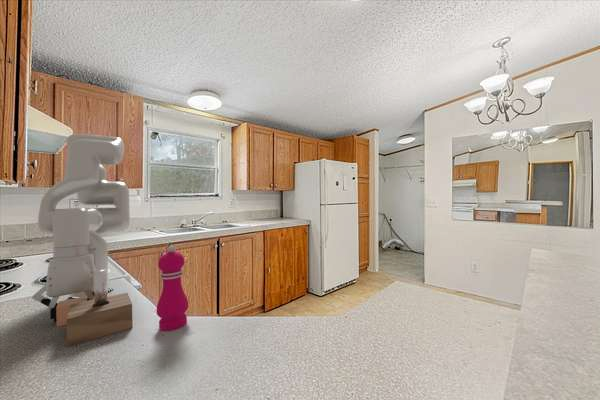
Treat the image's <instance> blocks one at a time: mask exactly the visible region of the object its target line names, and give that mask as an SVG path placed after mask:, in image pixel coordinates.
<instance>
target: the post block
mask: <svg viewBox="0 0 600 400" xmlns="http://www.w3.org/2000/svg"><path fill="white" fill-rule="evenodd" d="M107 302H108V304H107V305H102V306H98V307H94V299H93V300H89V301H85V302H80V303H75V304H71V305H70V309H69V313H68V316H67V324H66V347H70V346H75V345H77V344H81V343H84V342H88V341H91V340H96V339H99V338H102V337H105V336H110V335H112V334H116V333H120V332H123V331H126V330H130V329H133V325H134V324H133V302H132V300H131V298H130V296H129V293H128V292H124V293H123V292H122V293H119V294H115V295H110V296H109V295H107Z"/></svg>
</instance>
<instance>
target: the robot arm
mask: <svg viewBox="0 0 600 400" xmlns="http://www.w3.org/2000/svg"><path fill="white" fill-rule="evenodd" d="M66 146H67V154H66V155H67V156H66V165H65V172H64V178H62V179H61V180H59V181H58V182H57V183H55V184H53V185H52V186H51V187H50V188H49V189H48V190H47V191H46V192H45V193H44V195H43V196H42V198H41V200H40V204H39V205H40V206H39V211H38V216H37V225H38V228H39V230H40V231H41V232H42V233H43V234H45V235H46V234H47V235H52V239H53V240H52V241H53V243H52V244H53V245H52V246H53V247H52V251H53V252H52V258H51V259H49V262H48V267H47V272H46V283H45V284H44V285H43V286H42V287H41V288H40V289H39V290H38V291H37V292H35V293H34V294H33V296H32V297H31V298H32V300H34V301H37V302H38V303H41V304H42V305H44V306H46V307H48V308H49V309H50V311H49V312H50V320H53V323H54V324H57V316H56V307H57V305H58V300H59V298H60V297H62V296H68V295H69V296H70V297H84V296H87V301H89V300H94V271H96V270H102V269H107V293H109V292H111V291H113V290H114V288H115V287H114V285H113V284H109V250H108V249H109V248H108V242H107V241H106V240H105V239H104V238H103V237H102V236H101V235H100V234H104V233H106V234H107V233H118V232H125V231H126V230H128V229H129V226H130V221H131V220H130V218H131V216H130V214H131V213H130V192H129V188H128V185H127V184H126V183H125V182H122V181H108V180H107V170H106V168H105V167H104V166H103V165H107V166H117V165H120V163H121V162H122V160H123V157H124V156H125V155H124V154H125V143H124V141H123V140H122V138H120V137H118V136H109V135H99V134H91V133H90V134H88V133H74V134H70V135H68V136H67V138H66ZM76 193H77V200H78V202H79V204H81V205H83V206H92V207H93V206H113V207H98V208H97V207H96V208H95V207H93V208H92V207H91V208H90V207H88V208H87V207H86V208H85V207H83V208H78V207H76V208H56V207H57V205H58V204H59V203H60V202H61V201H62V200H63V199H65V198H67V197H68V196H71V195H73V194H76ZM112 289H113V290H112ZM110 290H111V291H110ZM108 291H109V292H108ZM45 292H46V296H47V297H45V296H44V294H45ZM70 297H69V298H70Z"/></svg>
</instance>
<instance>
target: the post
mask: <svg viewBox="0 0 600 400" xmlns="http://www.w3.org/2000/svg"><path fill="white" fill-rule="evenodd" d="M107 297H108V292H107V269H102V270H96V271H94V299H93V300H94V307H98V306H102V305H107V304H108V302H107Z"/></svg>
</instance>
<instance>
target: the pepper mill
mask: <svg viewBox="0 0 600 400" xmlns="http://www.w3.org/2000/svg"><path fill="white" fill-rule="evenodd" d="M166 250H167V252H165V253H163V254H162V255H161V256H160V257H159V259H158V261H157V267H158V269H159V270H160V271H161V272H160V279H161V280H162V291H161V294H160V296H159V299H158V302H157V305H156V311H155V312H156V315H157V316H158V317H159V320H158V328H159V330H160V331H163V332H164V331H165V332H169V331H175V330H178V329H180V328H183V327H184V326H185V325H186V324H187V323H188V317H187V314H186V312H187V311H188V309H189V300H188V297H187V296H186V294H185V292H184V289H183V286H182V285H183V284H182V276H183V274H184V273H183V272H184V271H183V269H182V268H183V267H184V265H185V257H184V255H183V254H182V253H181V252H178V251H175V250H176V247H175V246H174V245H170V246H168V247H167V248H166Z"/></svg>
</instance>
